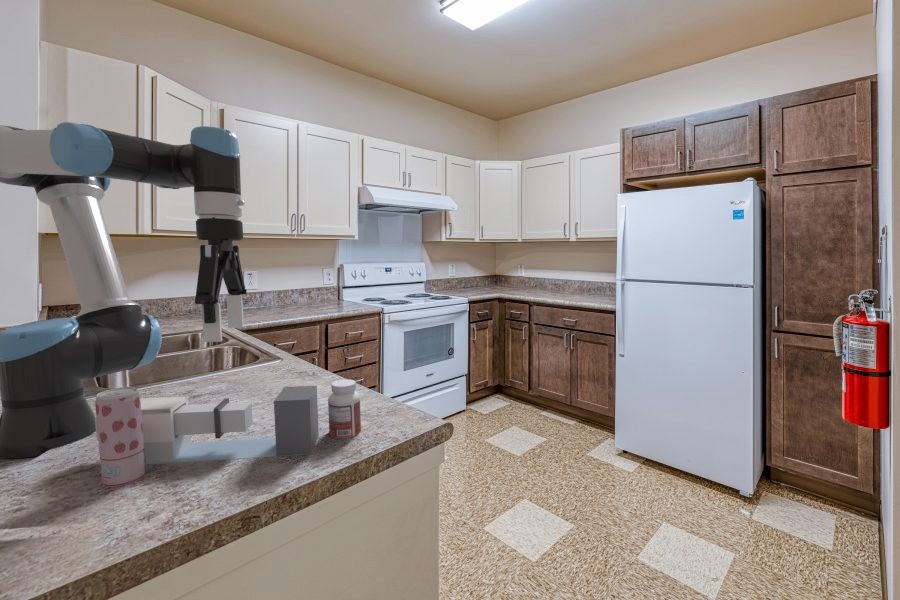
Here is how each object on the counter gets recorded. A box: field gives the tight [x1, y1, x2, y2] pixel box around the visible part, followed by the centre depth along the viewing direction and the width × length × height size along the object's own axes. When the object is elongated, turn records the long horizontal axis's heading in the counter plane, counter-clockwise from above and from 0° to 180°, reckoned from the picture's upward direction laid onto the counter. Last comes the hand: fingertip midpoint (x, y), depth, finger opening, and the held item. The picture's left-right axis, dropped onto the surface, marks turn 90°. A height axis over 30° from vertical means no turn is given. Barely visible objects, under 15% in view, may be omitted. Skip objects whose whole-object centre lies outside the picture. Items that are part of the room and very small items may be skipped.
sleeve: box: [140, 395, 192, 463], centre depth 77 cm, size 9×7×9 cm
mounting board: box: [146, 435, 319, 466], centre depth 80 cm, size 32×8×1 cm, turn 98°
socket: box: [273, 385, 320, 457], centre depth 81 cm, size 6×8×10 cm
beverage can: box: [94, 386, 147, 488], centre depth 69 cm, size 6×6×15 cm
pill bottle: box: [327, 379, 362, 439], centre depth 87 cm, size 6×6×11 cm
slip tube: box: [95, 397, 254, 441], centre depth 78 cm, size 24×5×5 cm, turn 98°
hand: (225, 334), depth 82 cm, fingers open, 13 cm apart
